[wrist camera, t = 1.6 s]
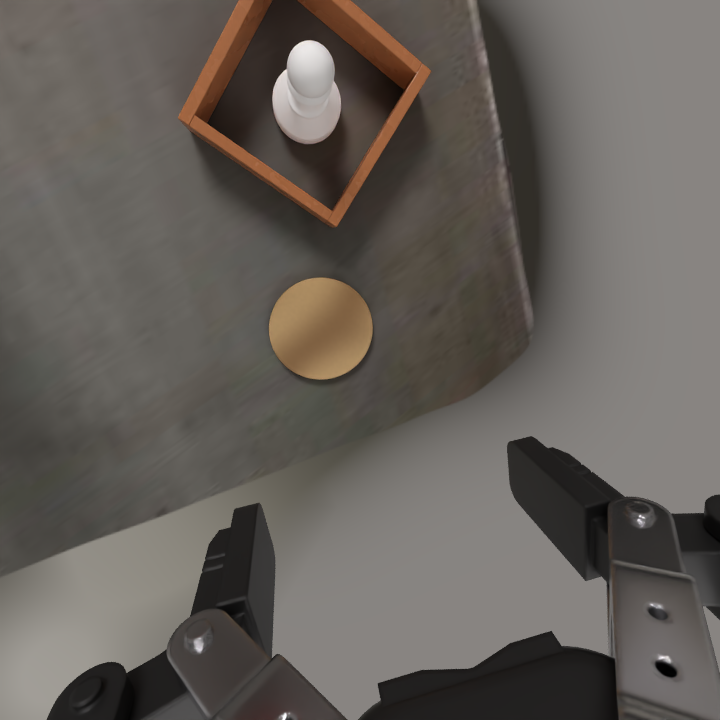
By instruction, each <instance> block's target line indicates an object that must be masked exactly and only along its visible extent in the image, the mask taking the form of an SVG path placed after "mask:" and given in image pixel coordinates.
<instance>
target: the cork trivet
mask: <svg viewBox="0 0 720 720" xmlns="http://www.w3.org/2000/svg"><path fill="white" fill-rule="evenodd" d="M372 332H373V324H372V318H371V314H370V311H369V309H368V306H367V304H366V303H365V301H364V300H363V298H362V297H361V296H360V295H359V294H358V293H357V292H356V291H355V290H354V289H353V288H351V287H350V286H349V285H347V284H345V283H343V282H341V281H338V280H335V279H331V278H324V277H318V278H310V279H306V280H303V281H301V282H298V283H296V284H295V285H293V286H291V287H290V288H289V289H287V290H286V291H285V292H284V293H283V294H282V295H281V296H280V298H279V299H278V301H277V302H276V304H275V306H274V308H273V310H272V313H271V317H270V322H269V337H270V341H271V345H272V347H273V350H274V352H275V354H276V355H277V357H278V358H279V360H280V361H281V362H282V363H283V364H284V365H285V366H286V367H287V368H288V369H290V370H291V371H293V372H294V373H296V374H298V375H300V376H303V377H306V378H311V379H320V380H321V379H330V378H335V377H338V376H341V375H343V374H345V373H347V372H348V371H350V370H351V369H353V368H354V367H355V366H356V365H357V364H358V363H359V362H360V361H361V360H362V358H363V357H364V356H365V354H366V352H367V350H368V348H369V346H370V343H371V339H372Z"/></svg>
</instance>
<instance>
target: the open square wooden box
mask: <svg viewBox="0 0 720 720" xmlns="http://www.w3.org/2000/svg"><path fill="white" fill-rule="evenodd" d="M297 1H298V2H299V3H301V4H302V5H303V6H304V7H305V8H307V9H308V10H309V11H310V12H311V13H313V14H314V15H315V16H316V17H317V18H319V19H320V20H321V21H322V22H323V23H324V24H326V25H327V26H328V27H329V28H330V29H332V30H333V31H334V32H335V33H336V34H338V35H339V36H340V37H341V38H342V39H344V40H345V41H346V42H347V43H348V44H350V45H351V46H352V47H353V48H354V49H355V50H357V51H358V52H359V53H360V54H361V55H363V56H364V57H365V58H366V59H367V60H369V61H370V62H371V63H372V64H373V65H375V66H376V67H377V68H378V69H379V70H380V71H382V72H383V73H384V74H385V75H386V76H388V77H389V78H390V79H391V80H392V81H394V82H395V83H396V84H397V85H398V86H400V87H401V88H402V89H403V90H404V91H403V93H402V94H401V96H400V98H399V99H398V101H397V103H396V104H395V106H394V108H393V109H392V111H391V113H390V114H389V116H388V118H387V119H386V121H385V123H384V124H383V126H382V128H381V129H380V131H379V133H378V134H377V136H376V138H375V139H374V141H373V143H372V144H371V146H370V147H369V149H368V151H367V152H366V154H365V156H364V157H363V159H362V161H361V162H360V164H359V166H358V167H357V169H356V171H355V172H354V174H353V176H352V177H351V179H350V181H349V182H348V184H347V186H346V187H345V189H344V191H343V192H342V194H341V196H340V197H339V199H338V201H337V202H336V204H335V206H334V207H333V209H332V210H330V209H329V208H327V207H326V206H324V205H323V204H322V203H320V202H319V201H317V200H316V199H314V198H313V197H311V196H310V195H309V194H307V193H306V192H304V191H303V190H301V189H300V188H299V187H297V186H296V185H294V184H293V183H291V182H290V181H289V180H287V179H286V178H284V177H283V176H281V175H280V174H278V173H277V172H276V171H274V170H273V169H271V168H270V167H268V166H267V165H266V164H264V163H263V162H261V161H260V160H258V159H257V158H256V157H254V156H253V155H251V154H250V153H248V152H247V151H245V150H244V149H243V148H241V147H240V146H238V145H237V144H235V143H234V142H233V141H231V140H230V139H228V138H227V137H225V136H224V135H223V134H221V133H220V132H218V131H217V130H215V129H214V128H212V127H211V126H210V125H208V124H207V122H208V120H209V119H210V117H211V115H212V113H213V111H214V109H215V107H216V105H217V104H218V102H219V100H220V98H221V96H222V94H223V92H224V90H225V89H226V87H227V85H228V83H229V81H230V79H231V77H232V75H233V74H234V72H235V70H236V68H237V66H238V64H239V62H240V60H241V58H242V57H243V55H244V53H245V51H246V49H247V47H248V45H249V43H250V42H251V40H252V38H253V36H254V34H255V32H256V30H257V28H258V27H259V25H260V23H261V21H262V19H263V17H264V15H265V13H266V12H267V10H268V8H269V6H270V4H271V2H272V0H239V1H238V3H237V5H236V7H235V9H234V11H233V13H232V15H231V17H230V19H229V20H228V22H227V24H226V26H225V28H224V30H223V32H222V34H221V36H220V38H219V40H218V42H217V44H216V45H215V47H214V49H213V51H212V53H211V55H210V57H209V59H208V61H207V63H206V65H205V67H204V68H203V70H202V72H201V74H200V76H199V78H198V80H197V82H196V84H195V86H194V88H193V90H192V92H191V93H190V95H189V97H188V99H187V101H186V103H185V105H184V107H183V109H182V111H181V113H180V115H179V117H178V119H179V120H180V121H181V122H182V123H183V124H184V125H185V126H186V127H187V128H188V130H189V131H190V132H192V133H193V134H195V135H196V136H198V137H200V138H201V139H202V140H204V141H205V142H207V143H208V144H209V145H211V146H212V147H214V148H215V149H217V150H218V151H220V152H221V153H223V154H224V155H226V156H227V157H228V158H230V159H231V160H233V161H234V162H236V163H237V164H239V165H240V166H242V167H243V168H245V169H246V170H248V171H249V172H250V173H252V174H253V175H255V176H256V177H258V178H259V179H261V180H262V181H264V182H265V183H267V184H268V185H269V186H271V187H272V188H274V189H275V190H277V191H278V192H280V193H281V194H283V195H284V196H286V197H287V198H288V199H290V200H291V201H293V202H294V203H296V204H297V205H299V206H300V207H302V208H303V209H305V210H306V211H308V212H309V213H310V214H312V215H313V216H315V217H316V218H318V219H319V220H321V221H322V222H325V224H327V225H328V226H329V227H331V228H334V227H337V226H338V224H339V222H340V221H341V219H342V217H343V216H344V214H345V213H346V211H347V209H348V208H349V206H350V204H351V203H352V201H353V199H354V198H355V196H356V194H357V193H358V191H359V190H360V188H361V186H362V185H363V183H364V181H365V180H366V178H367V176H368V175H369V173H370V171H371V170H372V168H373V167H374V165H375V163H376V162H377V160H378V158H379V157H380V155H381V153H382V152H383V150H384V148H385V147H386V145H387V143H388V142H389V140H390V139H391V137H392V135H393V134H394V132H395V130H396V129H397V127H398V125H399V124H400V122H401V120H402V119H403V117H404V116H405V114H406V112H407V111H408V109H409V107H410V106H411V104H412V102H413V101H414V99H415V97H416V96H417V94H418V93H419V91H420V89H421V88H422V86H423V84H424V83H425V81H426V79H427V78H428V76H429V74H430V73H431V70H430V69H428V68H427V67H426V66H425V65H424V64H422V63H421V62H420V61H419V60H418V59H417V58H416V57H415V56H413V55H412V54H411V53H410V52H409V51H408V50H407V49H405V48H404V47H403V46H402V45H401V44H400V43H399V42H397V41H396V40H395V39H394V38H393V37H392V36H391V35H389V34H388V33H387V32H386V31H385V30H384V29H383V28H381V27H380V26H379V25H378V24H377V23H376V22H375V21H373V20H372V19H371V18H370V17H369V16H368V15H367V14H365V13H364V12H363V11H362V10H361V9H360V8H359V7H357V6H356V5H355V4H354V3H353V2H352V1H351V0H297Z"/></svg>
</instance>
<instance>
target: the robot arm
mask: <svg viewBox="0 0 720 720" xmlns="http://www.w3.org/2000/svg"><path fill="white" fill-rule="evenodd" d="M507 453H508V467H509V480H510V487H511V491H512V493H513V495H514V498H515V499H516V501H517V502H518V504H519V505H520V506H521V507H522V508H523V509H524V511H525V512H526V513H527V514H528V515H529V516H530V517H531V519H532V520H533V521H534V522H535V523H536V524H537V526H538V527H539V528H540V529H541V530H542V531H543V532H544V534H545V535H546V536H547V537H548V538H549V539H550V540H551V541H552V543H553V544H554V545H555V546H556V547H557V549H558V550H559V551H560V552H561V553H562V554H563V555H564V557H565V558H566V559H567V560H568V561H569V562H570V564H571V565H572V566H573V567H574V568H575V569H576V570H577V571H578V573H579V574H580V575H581V576H582V577H583V578H584V580H585V581H587V580H591V579H594V578H597V577H601V576H602V577H603V578H604V580H606V582H607V618H608V619H607V621H608V654H609V655H608V656H607V655H605V654H602V653H598V652H596V651H592V650H589V649H584V648H579V647H570V646H561V645H560V643H559V642H558V640H557V639H556V637H555V636H554V634H553V633H552V631H550V632H547V633H543V634H540V635H537V636H533V637H530V638H526V639H523V640H520V641H517V642H513V643H510V644H508V645H507V646H506V647H504V648H502V649H501V650H499V651H498V652H496V653H495V654H493V655H492V656H490V657H489V658H487V659H486V660H484V661H483V662H481V663H480V664H478V665H477V666H475V667H473V668H470V669H446V670H445V669H444V670H421V671H417V672H414V673H410V674H407V675H404V676H400V677H398V678H394V679H391V680H387V681H384V682H381V683H378V688H379V693H380V698H381V701H379V702H378V703H376V704H375V705H373V706H372V707H371V708H370V709H368V710H367V711H366V712H365V713H364V714H363V715H362V716H361V717H360V718H359V719H358V720H720V672H719V668H718V665H717V661H716V657H715V653H714V649H713V646H712V641H711V637H710V633H709V630H708V626H707V622H706V618H705V614H704V610H703V606H706V607H707V608H708V609H709V610H710V611H711V612H712V613H713V614H714V615H715V616H716V617H717V618H718V619H719V620H720V495H714V496H711V497H710V498H708V499H707V500H706V502H705V509H704V513H693V514H692V513H691V514H689V513H688V514H671V513H670V512H669V511H668V510H667V509H666V508H664V507H663V506H661V505H659V504H658V503H655V502H653V501H650V500H647V499H644V498H639V497H624V496H623V495H622V494H620V493H619V492H618V491H617V490H615V489H614V488H613V487H611V486H610V485H609V484H608V483H606V482H605V481H604V480H602V479H601V478H600V477H598V476H597V475H596V474H595V473H593V472H592V473H591V471H590V470H589V469H588V468H587V467H585V466H584V465H581V463H580V462H579V461H578V460H576V459H575V458H574V457H572V456H571V455H570V454H568V453H565V452H563V451H561V450H558V449H555V448H553V447H552V448H547V447H545V446H544V445H543V444H542V443H540V442H539V441H538V440H537V439H535V438H534V437H532V436H530V437H526V438H522V439H518V440H514V441H510V442H509V443H508V445H507ZM274 586H275V555H274V548H273V544H272V540H271V537H270V533H269V530H268V527H267V523H266V519H265V516H264V512H263V509H262V506H261V504H260V503H256V504H252V505H248V506H244V507H240V508H236V509H235V510H234V513H233V518H232V523H231V527H230V528H227V529H223V530H219V531H218V533H217V534H216V535H215V537H214V538H213V540H212V541H211V542H210V544H209V546H208V550H207V554H206V557H205V562H204V565H203V569H202V574H201V577H200V580H199V584H198V589H197V592H196V596H195V600H194V604H193V607H192V611H191V615H190V617H189V618H188V619H186V620H185V621H184V622H183V623H182V624H181V625H180V626H179V627H178V628H177V629H176V630H175V632H174V633H173V635H172V636H171V638H170V640H169V643H168V646H167V649H166V650H165V651H164V652H162V653H161V654H160V655H158V656H156V657H155V658H153V659H151V660H149V661H147V662H146V663H144V664H142V665H140V666H138V667H137V668H135V669H133V670H131V671H129V672H128V673H126V671H125V669H124V667H123V666H122V665H121V664H119V663H116V662H107V663H103V664H100V665H97V666H95V667H93V668H91V669H89V670H87V671H86V672H84V673H82V674H81V675H80V676H78V677H77V678H76V679H75V680H74V681H73V682H72V683H70V684H69V685H68V686H67V687H66V688H65V690H64V691H63V692H62V693H61V694H60V696H59V697H58V698H57V700H56V701H55V704H54V705H53V707H52V709H51V711H50V713H49V716H48V718H47V720H347V719H346V718H345V717H344V716H343V715H342V714H341V713H340V712H339V711H338V710H337V709H336V708H335V707H334V706H333V705H332V704H331V703H330V702H329V701H328V700H327V699H326V698H325V697H324V696H323V695H322V694H321V693H320V692H319V691H318V690H317V689H316V688H315V687H314V686H313V685H312V684H311V683H310V682H309V681H308V680H307V679H306V678H305V677H304V676H302V674H300V672H299V671H298V670H296V669H295V668H294V667H293V666H292V665H291V664H290V663H289V662H288V661H287V660H286V659H285V658H284V657H283V656H281V655H280V654H276V655H275V656H274V657H273V658H272V637H273V612H274V611H273V610H274Z"/></svg>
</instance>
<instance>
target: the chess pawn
mask: <svg viewBox="0 0 720 720" xmlns="http://www.w3.org/2000/svg"><path fill="white" fill-rule="evenodd" d="M334 75H335V67H334V62H333V59H332V56H331V55H330V53H329V51H328V50H327V49H326V48H325V47H324V46H323V45H322V44H320V43H319V42H316V41H312V40H306V41H303V42H300V43H299V44H297V45H296V46H295V47H294V48H293V49H292V51H291V52H290V55H289V57H288V61H287V69H286V70H285V71H283V72H282V74H281V75H280V76H279V77H278V79H277V81H276V83H275V86H274V88H273V96H272V102H273V110H274V115H275V118H276V121H277V123H278V125H279V126H280V128H281V130H282V131H283V132H284V133H285V134H286V135H287V136H288V137H289V138H291V139H293V140H294V141H296V142H299V143H303V144H315V143H318V142H321V141H323V140H324V139H326V138H327V137H328V136H329V135H330V134H331V133H332V132H333V130H334V129H335V126H336V124H337V122H338V119H339V117H340V111H341V97H340V94H339V90H338V87H337V85H336V84H335V82H334Z"/></svg>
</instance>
